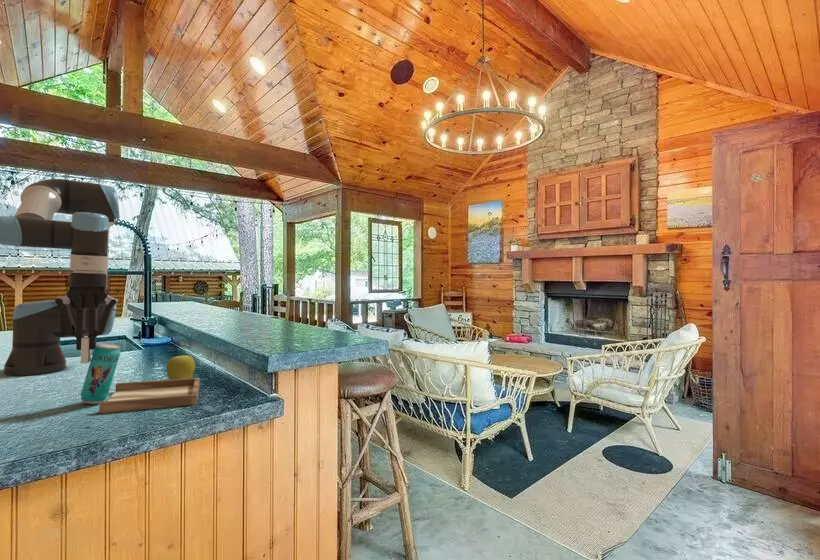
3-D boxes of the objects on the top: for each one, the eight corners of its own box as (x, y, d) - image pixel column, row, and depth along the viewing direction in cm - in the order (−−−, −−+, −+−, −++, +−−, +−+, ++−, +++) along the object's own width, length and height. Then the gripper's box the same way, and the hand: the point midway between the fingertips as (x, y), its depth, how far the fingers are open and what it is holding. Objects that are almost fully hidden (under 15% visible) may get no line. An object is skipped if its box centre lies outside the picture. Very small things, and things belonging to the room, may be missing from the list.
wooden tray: (116, 391, 114) (116, 383, 114) (199, 385, 123) (199, 377, 123) (99, 413, 97) (99, 403, 97) (196, 404, 106) (196, 395, 106)
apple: (189, 381, 123) (181, 350, 123) (165, 387, 124) (157, 357, 124) (203, 375, 131) (195, 346, 131) (180, 381, 131) (173, 352, 131)
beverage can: (77, 403, 100) (94, 346, 101) (80, 396, 105) (97, 341, 106) (104, 405, 103) (121, 349, 104) (106, 398, 108) (122, 344, 109)
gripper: (50, 271, 96) (47, 366, 97) (115, 273, 102) (112, 363, 102) (62, 271, 103) (59, 360, 103) (122, 273, 109) (119, 357, 109)
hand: (85, 362), depth 103 cm, fingers closed
